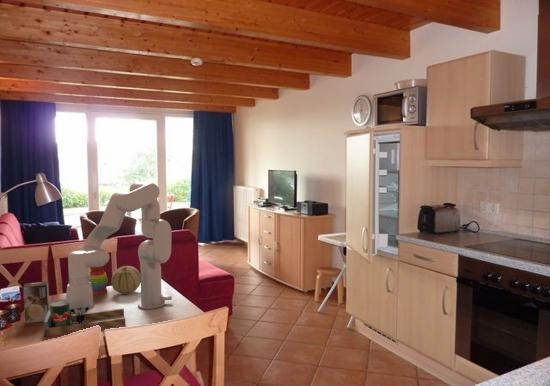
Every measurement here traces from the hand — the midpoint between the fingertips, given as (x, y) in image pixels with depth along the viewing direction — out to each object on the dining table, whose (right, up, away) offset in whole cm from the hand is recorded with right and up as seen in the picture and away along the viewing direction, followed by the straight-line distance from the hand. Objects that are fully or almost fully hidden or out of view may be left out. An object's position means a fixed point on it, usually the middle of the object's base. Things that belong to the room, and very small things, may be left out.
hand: (80, 323), depth 171 cm
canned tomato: (-7, -2, -3) cm, 7 cm away
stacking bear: (-12, +2, +44) cm, 46 cm away
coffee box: (-22, -1, +7) cm, 23 cm away
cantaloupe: (+3, +2, +44) cm, 44 cm away
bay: (+2, -1, +1) cm, 3 cm away
